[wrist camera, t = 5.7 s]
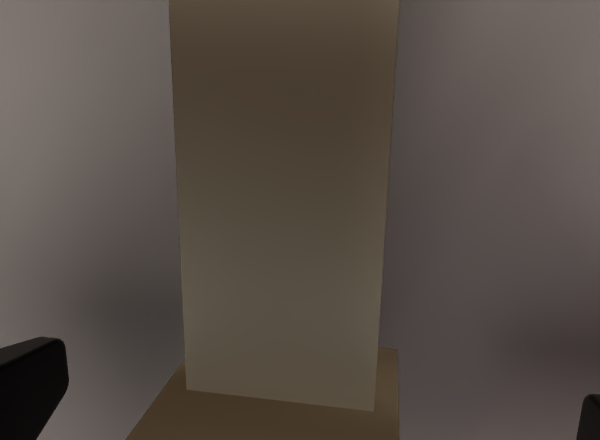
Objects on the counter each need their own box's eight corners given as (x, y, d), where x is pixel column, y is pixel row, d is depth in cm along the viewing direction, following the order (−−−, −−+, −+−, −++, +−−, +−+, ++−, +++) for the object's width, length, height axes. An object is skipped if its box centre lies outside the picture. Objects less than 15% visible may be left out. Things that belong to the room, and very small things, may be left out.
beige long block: (386, 482, 8) (386, 667, 6) (210, 458, 9) (133, 619, 6) (452, -399, 6) (509, -842, 3) (183, -367, 6) (16, -725, 3)
